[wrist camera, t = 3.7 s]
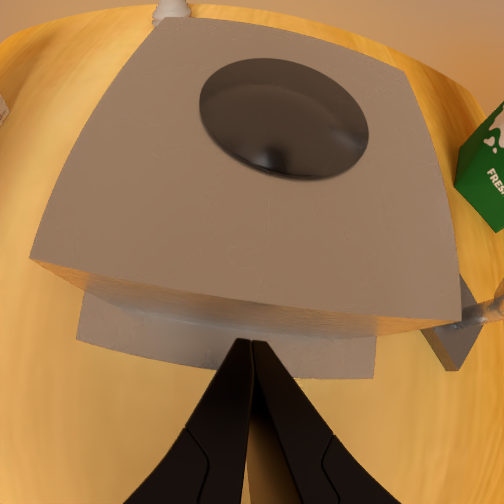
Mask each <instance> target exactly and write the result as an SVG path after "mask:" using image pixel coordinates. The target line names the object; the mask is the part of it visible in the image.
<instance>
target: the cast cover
mask: <svg viewBox="0 0 504 504" xmlns="http://www.w3.org/2000/svg"><path fill="white" fill-rule="evenodd" d="M29 258H30V259H31V260H33V261H34V262H36V263H38V264H39V265H41V266H42V267H44V268H46V269H47V270H49V271H51V272H52V273H54V274H56V275H58V276H59V277H61V278H63V279H64V280H66V281H68V282H70V283H71V284H73V285H75V286H77V287H79V288H81V289H82V290H84V291H85V293H84V298H83V303H82V308H81V313H80V319H79V324H78V331H77V337H76V340H79V341H83V342H86V343H89V344H93V345H97V346H100V347H104V348H108V349H111V350H115V351H119V352H123V353H127V354H132V355H136V356H140V357H145V358H150V359H154V360H159V361H164V362H170V363H175V364H180V365H186V366H192V367H198V368H205V369H212V370H218V368H219V367H220V365H221V363H222V361H223V360H224V358H225V356H226V354H227V353H228V351H229V349H230V347H231V346H232V344H233V342H234V340H235V339H236V338H246V339H250V340H251V341H252V340H263V341H267V342H268V343H269V345H270V346H271V348H272V349H273V351H274V352H275V353H276V355H277V356H278V358H279V359H280V360H281V362H282V363H283V365H284V366H285V368H286V369H287V370H288V372H289V373H290V374H291V376H292V377H293V378H315V379H373V375H374V365H375V352H376V336H381V335H388V334H395V333H401V332H407V331H413V330H419V329H424V328H430V327H435V326H440V325H445V324H450V323H454V322H459V321H462V312H461V290H460V277H459V266H458V257H457V249H456V242H455V235H454V229H453V223H452V218H451V213H450V208H449V203H448V198H447V194H446V190H445V185H444V181H443V178H442V174H441V170H440V166H439V163H438V159H437V156H436V153H435V149H434V146H433V143H432V140H431V137H430V134H429V131H428V128H427V126H426V123H425V120H424V117H423V115H422V112H421V110H420V107H419V105H418V102H417V100H416V97H415V95H414V93H413V90H412V88H411V86H410V83H409V81H408V79H407V77H406V75H405V73H404V71H402V70H400V69H397V68H395V67H393V66H391V65H389V64H386V63H384V62H382V61H379V60H377V59H375V58H372V57H370V56H367V55H364V54H362V53H359V52H357V51H354V50H351V49H348V48H345V47H343V46H340V45H337V44H333V43H330V42H327V41H324V40H320V39H317V38H314V37H310V36H306V35H302V34H298V33H294V32H290V31H286V30H281V29H277V28H272V27H267V26H261V25H256V24H249V23H243V22H236V21H228V20H218V19H207V18H191V17H165V18H164V19H163V20H162V21H161V22H160V23H159V24H158V25H157V26H156V27H155V29H154V30H153V31H152V32H151V33H150V34H149V35H148V37H147V38H146V39H145V40H144V41H143V42H142V44H141V45H140V46H139V47H138V48H137V50H136V51H135V52H134V53H133V55H132V56H131V57H130V59H129V60H128V61H127V62H126V64H125V65H124V66H123V68H122V69H121V71H120V72H119V73H118V75H117V76H116V77H115V79H114V80H113V82H112V83H111V85H110V86H109V88H108V89H107V91H106V92H105V94H104V95H103V97H102V98H101V100H100V101H99V103H98V104H97V106H96V108H95V109H94V111H93V112H92V114H91V116H90V117H89V119H88V121H87V123H86V124H85V126H84V128H83V130H82V131H81V133H80V135H79V137H78V139H77V141H76V142H75V144H74V146H73V148H72V150H71V152H70V154H69V156H68V158H67V160H66V162H65V164H64V166H63V168H62V171H61V173H60V175H59V177H58V179H57V182H56V184H55V186H54V189H53V191H52V193H51V196H50V198H49V201H48V203H47V206H46V209H45V211H44V214H43V217H42V219H41V222H40V225H39V228H38V231H37V234H36V237H35V240H34V243H33V246H32V250H31V253H30V257H29Z"/></svg>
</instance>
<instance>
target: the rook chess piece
mask: <svg viewBox="0 0 504 504" xmlns="http://www.w3.org/2000/svg"><path fill="white" fill-rule="evenodd" d="M191 14H192V13H191V8H189V7H188V3H186V0H159V4H158V6H156V10H155V11H154V12H153V16H152V18H154V20H153V21H152V24H153V25H154V26H155V27H156V26H157V25H158V24H159V23H160V22H161V21H162V20H163V19H164V18H165V17H191V16H190V15H191ZM191 18H192V17H191Z"/></svg>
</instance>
